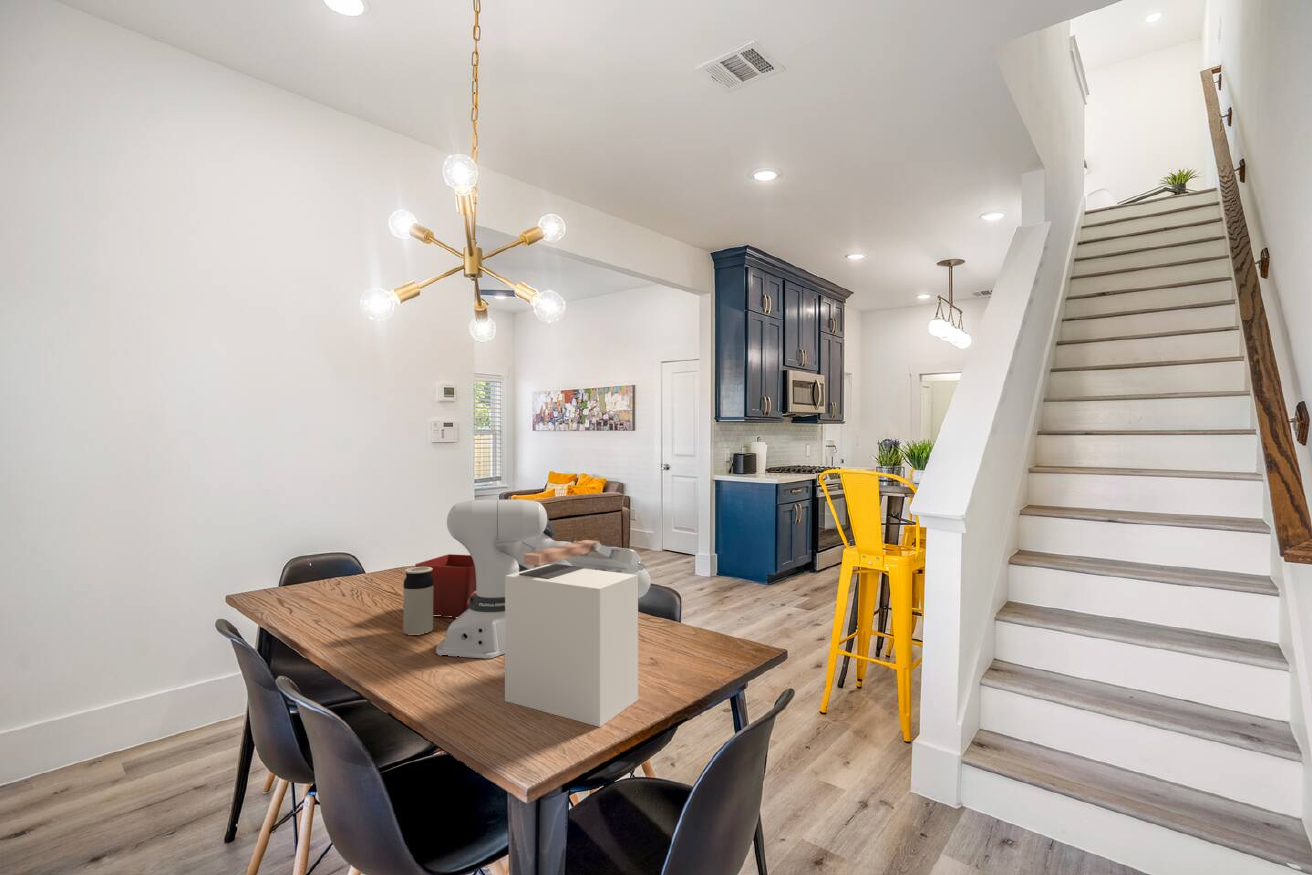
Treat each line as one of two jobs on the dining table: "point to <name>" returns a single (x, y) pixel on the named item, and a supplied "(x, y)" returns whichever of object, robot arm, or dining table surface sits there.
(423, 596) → the travel mug
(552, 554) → the terracotta slat
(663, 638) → the dining table surface
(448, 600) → the plant pot
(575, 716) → the tall white box
